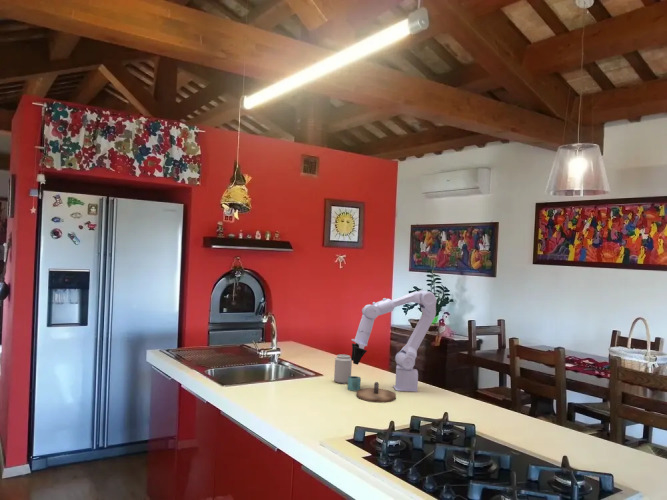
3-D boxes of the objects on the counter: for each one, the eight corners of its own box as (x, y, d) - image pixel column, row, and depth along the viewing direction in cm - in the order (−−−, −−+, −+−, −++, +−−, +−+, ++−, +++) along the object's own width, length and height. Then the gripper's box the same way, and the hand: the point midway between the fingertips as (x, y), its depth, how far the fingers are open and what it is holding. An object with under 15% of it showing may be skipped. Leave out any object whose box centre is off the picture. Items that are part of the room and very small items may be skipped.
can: (344, 385, 235) (345, 357, 235) (330, 381, 239) (332, 355, 240) (354, 382, 241) (355, 355, 241) (340, 379, 245) (341, 353, 245)
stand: (392, 392, 226) (392, 378, 226) (398, 403, 210) (399, 387, 210) (354, 391, 225) (355, 376, 225) (358, 401, 209) (359, 386, 209)
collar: (359, 387, 231) (359, 376, 231) (360, 391, 226) (361, 379, 226) (347, 387, 231) (347, 375, 231) (348, 390, 226) (348, 378, 226)
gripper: (353, 327, 237) (344, 356, 236) (356, 331, 222) (347, 362, 221) (368, 332, 237) (359, 361, 236) (373, 336, 222) (363, 367, 222)
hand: (354, 362), depth 229 cm, fingers open, 7 cm apart
